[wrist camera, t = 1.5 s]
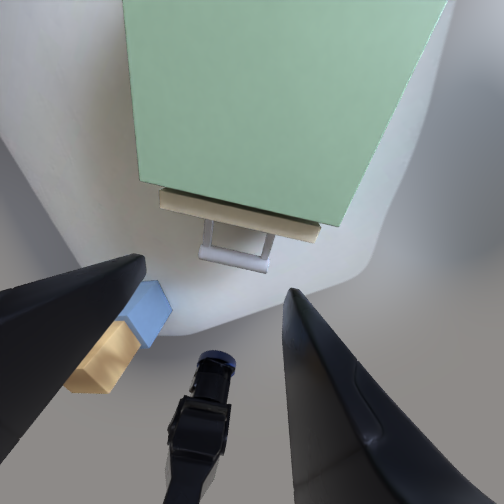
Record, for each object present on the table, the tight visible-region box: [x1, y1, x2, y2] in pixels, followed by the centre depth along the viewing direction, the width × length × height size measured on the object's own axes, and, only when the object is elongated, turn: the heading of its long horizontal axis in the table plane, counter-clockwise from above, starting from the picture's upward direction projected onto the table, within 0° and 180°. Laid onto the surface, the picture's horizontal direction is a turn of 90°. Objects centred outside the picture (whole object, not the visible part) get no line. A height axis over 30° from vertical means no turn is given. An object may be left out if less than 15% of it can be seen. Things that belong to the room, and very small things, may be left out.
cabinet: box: [122, 0, 448, 227], centre depth 10 cm, size 14×12×8 cm
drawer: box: [159, 187, 321, 274], centre depth 13 cm, size 17×10×6 cm, turn 168°
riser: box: [114, 280, 172, 349], centre depth 23 cm, size 6×6×6 cm
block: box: [63, 321, 141, 394], centre depth 19 cm, size 4×4×5 cm
